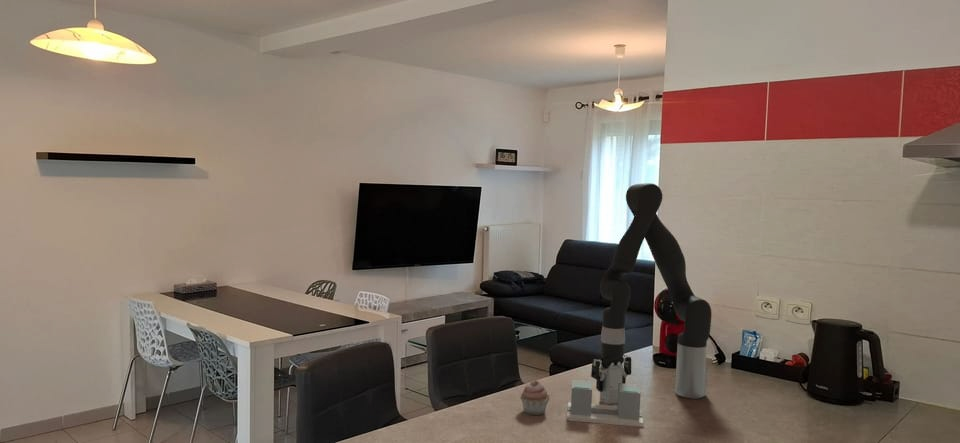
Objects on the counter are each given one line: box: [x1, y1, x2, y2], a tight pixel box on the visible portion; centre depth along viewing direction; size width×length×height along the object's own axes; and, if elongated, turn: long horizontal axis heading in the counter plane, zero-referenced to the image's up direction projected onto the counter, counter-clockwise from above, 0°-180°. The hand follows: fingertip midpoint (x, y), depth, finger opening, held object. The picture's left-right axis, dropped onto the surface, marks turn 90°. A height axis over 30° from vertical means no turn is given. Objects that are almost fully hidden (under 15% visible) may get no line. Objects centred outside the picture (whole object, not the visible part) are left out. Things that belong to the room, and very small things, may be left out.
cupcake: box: [519, 379, 551, 416], centre depth 191 cm, size 9×9×10 cm
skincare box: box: [599, 363, 624, 405], centre depth 202 cm, size 6×4×12 cm
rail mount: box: [566, 379, 644, 428], centre depth 189 cm, size 22×12×9 cm, turn 81°
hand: (610, 389), depth 202 cm, fingers open, 8 cm apart
